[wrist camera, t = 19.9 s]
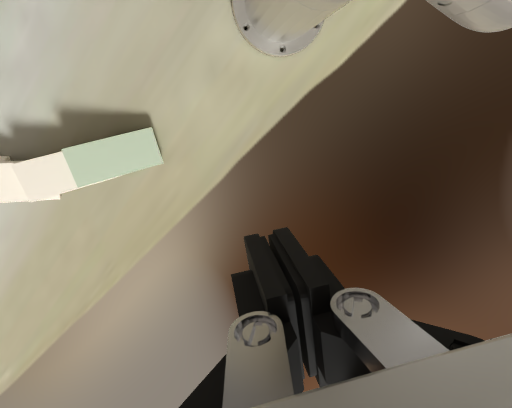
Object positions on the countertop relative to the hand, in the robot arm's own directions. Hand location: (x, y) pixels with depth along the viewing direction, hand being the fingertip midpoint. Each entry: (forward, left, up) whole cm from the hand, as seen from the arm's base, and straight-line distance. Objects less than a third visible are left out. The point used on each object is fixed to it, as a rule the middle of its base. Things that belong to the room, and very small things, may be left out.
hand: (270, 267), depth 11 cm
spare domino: (-1, -8, -34) cm, 35 cm away
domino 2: (0, -14, -34) cm, 37 cm away
